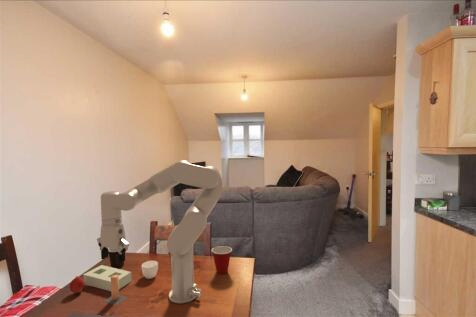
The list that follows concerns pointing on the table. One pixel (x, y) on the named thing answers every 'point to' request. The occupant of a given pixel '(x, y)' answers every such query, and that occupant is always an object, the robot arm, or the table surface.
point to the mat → (109, 300)
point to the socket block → (106, 277)
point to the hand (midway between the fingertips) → (113, 260)
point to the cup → (149, 269)
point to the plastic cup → (221, 258)
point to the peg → (115, 287)
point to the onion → (77, 285)
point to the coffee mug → (114, 258)
